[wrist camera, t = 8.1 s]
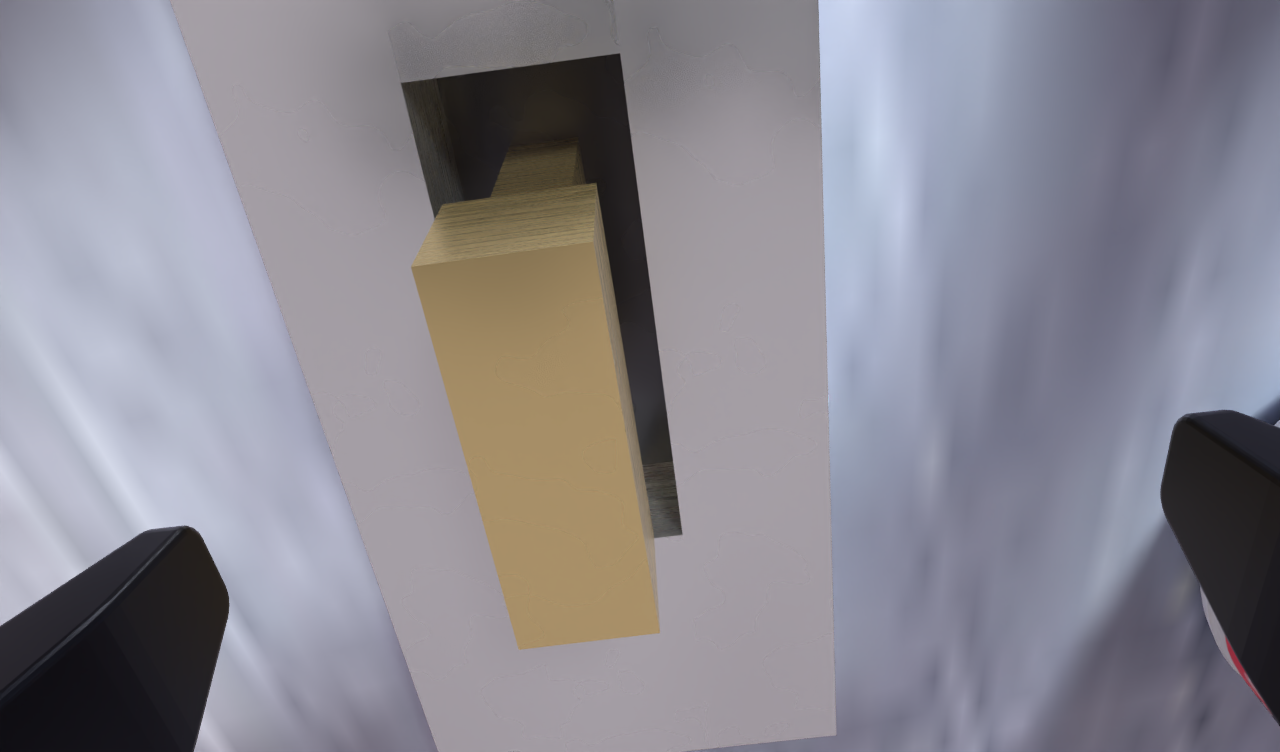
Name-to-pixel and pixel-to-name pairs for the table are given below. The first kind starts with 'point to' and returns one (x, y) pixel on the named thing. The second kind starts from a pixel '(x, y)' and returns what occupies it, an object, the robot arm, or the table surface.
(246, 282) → the table surface
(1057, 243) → the table surface
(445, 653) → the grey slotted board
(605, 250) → the tan pronged block
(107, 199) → the table surface
